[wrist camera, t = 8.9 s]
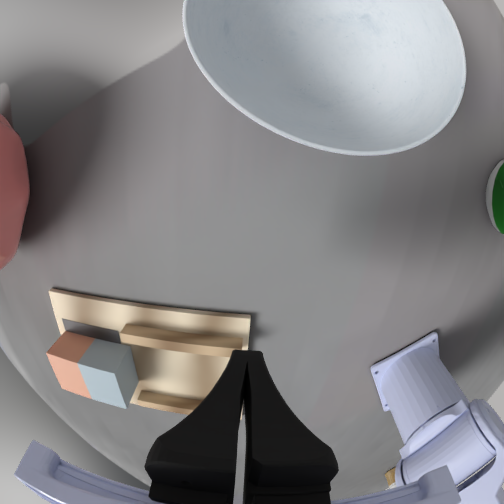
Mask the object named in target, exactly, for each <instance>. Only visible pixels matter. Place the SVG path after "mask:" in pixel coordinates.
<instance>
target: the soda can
mask: <svg viewBox="0 0 504 504" xmlns="http://www.w3.org/2000/svg"><path fill="white" fill-rule="evenodd" d="M486 205H487V210H488V212H489V216H490V219H491V222H492V225H493V226H494V227H495V229H496V230H497V231H498V232H500V233H502V234H504V160H502V161H500V162H499V163H498V164H497V166H496V167H495V168H494V170H493V171H492V172H491V174H490V177H489V179H488V183H487V188H486Z"/></svg>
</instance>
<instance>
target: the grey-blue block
mask: <svg viewBox="0 0 504 504" xmlns="http://www.w3.org/2000/svg"><path fill="white" fill-rule="evenodd" d="M77 364H78V367H79V369H80V372H81V374H82V377H83V379H84V382H85V384H86V386H87V389H88V391H89V393H90V395H91V398H92V399H94V400H97V401H100V402H103V403H107V404H110V405H114V406H117V407H121V408H125V409H127V408H128V405H129V403H130V401H131V398H132V396H133V394H134V392H135V389H136V387H137V385H138V383H139V380H138V376H137V372H136V368H135V364H134V360H133V356H132V351H131V347H130V346H129V345H123V344H119V343H114V342H109V341H105V340H100V339H96V338H95V340H94V341H93V342H92V344H91V345H90V346H89V348H88V349H87V350H86V352H85V353H84V355H83V356H82V357H81V359H80V360H79V361H78V363H77Z"/></svg>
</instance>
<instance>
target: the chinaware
mask: <svg viewBox="0 0 504 504" xmlns="http://www.w3.org/2000/svg"><path fill="white" fill-rule="evenodd" d="M183 28H184V33H185V37H186V41H187V44H188V47H189V49H190V52H191V54H192V56H193V58H194V60H195V62H196V63H197V65H198V67H199V68H200V70H201V71H202V73H203V74H204V76H205V77H206V78H207V80H208V81H209V82H210V83H211V84H212V86H213V87H214V88H215V89H216V90H217V91H218V92H219V93H220V94H221V95H222V96H223V97H224V98H225V99H226V100H227V101H228V102H229V103H231V104H232V105H233V106H234V107H235V108H237V109H238V110H239V111H241V112H242V113H243V114H245V115H246V116H248V117H249V118H251V119H252V120H253V121H255V122H257V123H258V124H260V125H262V126H263V127H265V128H267V129H269V130H271V131H273V132H275V133H277V134H279V135H281V136H283V137H285V138H288V139H290V140H292V141H295V142H298V143H300V144H303V145H306V146H309V147H313V148H316V149H320V150H324V151H328V152H333V153H339V154H346V155H356V156H377V155H387V154H393V153H398V152H402V151H405V150H408V149H411V148H414V147H416V146H418V145H421V144H423V143H424V142H426V141H428V140H429V139H431V138H432V137H434V136H435V135H437V134H438V133H439V132H440V131H441V130H442V129H443V128H444V127H445V126H446V125H447V124H448V123H449V121H450V120H451V119H452V117H453V116H454V114H455V112H456V111H457V109H458V107H459V104H460V102H461V99H462V96H463V93H464V88H465V82H466V58H465V51H464V47H463V43H462V39H461V36H460V33H459V30H458V28H457V25H456V23H455V21H454V19H453V17H452V15H451V13H450V11H449V10H448V8H447V6H446V5H445V3H444V2H443V0H184V4H183Z"/></svg>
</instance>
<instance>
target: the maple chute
mask: <svg viewBox="0 0 504 504" xmlns="http://www.w3.org/2000/svg"><path fill="white" fill-rule="evenodd" d="M49 295H50V299H51V302H52V306H53V310H54V313H55V317H56V320H57V324H58V327H59V330H60V333H61V335H62V334H63V333H64V332H65V331H68V332H72V333H76V334H79V335H83V336H87V337H92V338H96V339H100V340H105V341H109V342H114V343H119V344H123V345H129V346H130V347H131V351H132V356H133V360H134V364H135V368H136V372H137V376H138V380H139V383H138V385H137V387H136V389H135V392H134V394H133V396H132V398H131V401H130V403H133V404H137V405H140V406H144V407H149V408H154V409H158V410H164V411H169V412H175V413H181V414H187V415H189V414H190V413H191V412H192V411H193V410H194V409H195V408H196V407H197V406H198V405H199V404H200V403H201V402H202V401H203V400H204V399H205V398H206V396H207V395H208V394H209V393H210V391H211V390H212V388H213V387H214V386H215V384H216V383H217V381H218V380H219V378H220V377H221V375H222V373H223V371H224V370H225V368H226V366H227V364H228V362H229V359H230V357H231V354H232V351H233V350H235V349H237V350H248V342H249V331H250V319H251V315H246V314H233V313H221V312H210V311H200V310H190V309H181V308H172V307H164V306H156V305H149V304H141V303H134V302H127V301H120V300H114V299H108V298H102V297H96V296H90V295H84V294H79V293H73V292H68V291H63V290H58V289H53V288H52V289H50V290H49ZM242 410H243V406H242ZM240 420H242V412H241V418H240Z"/></svg>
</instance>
